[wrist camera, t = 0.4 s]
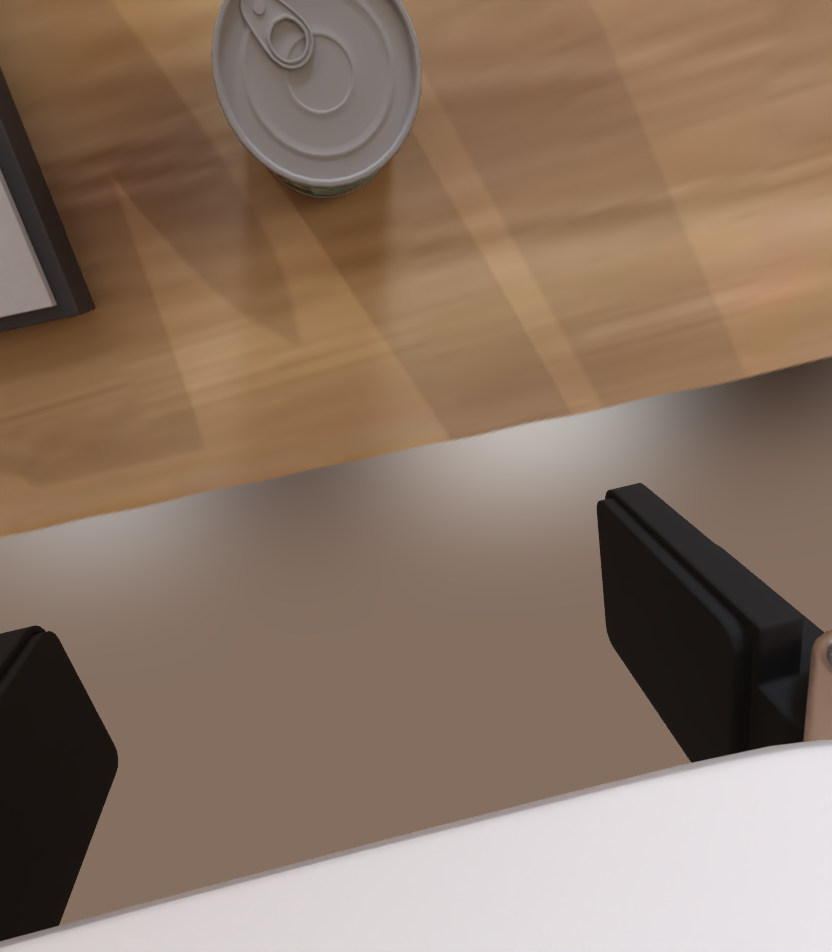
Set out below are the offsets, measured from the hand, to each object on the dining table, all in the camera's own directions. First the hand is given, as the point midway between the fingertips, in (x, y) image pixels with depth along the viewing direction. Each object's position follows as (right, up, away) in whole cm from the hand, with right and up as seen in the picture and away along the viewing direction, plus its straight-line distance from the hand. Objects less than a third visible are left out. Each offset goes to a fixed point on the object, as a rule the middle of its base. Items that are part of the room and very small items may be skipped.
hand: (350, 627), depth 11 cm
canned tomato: (-4, +22, +23) cm, 32 cm away
